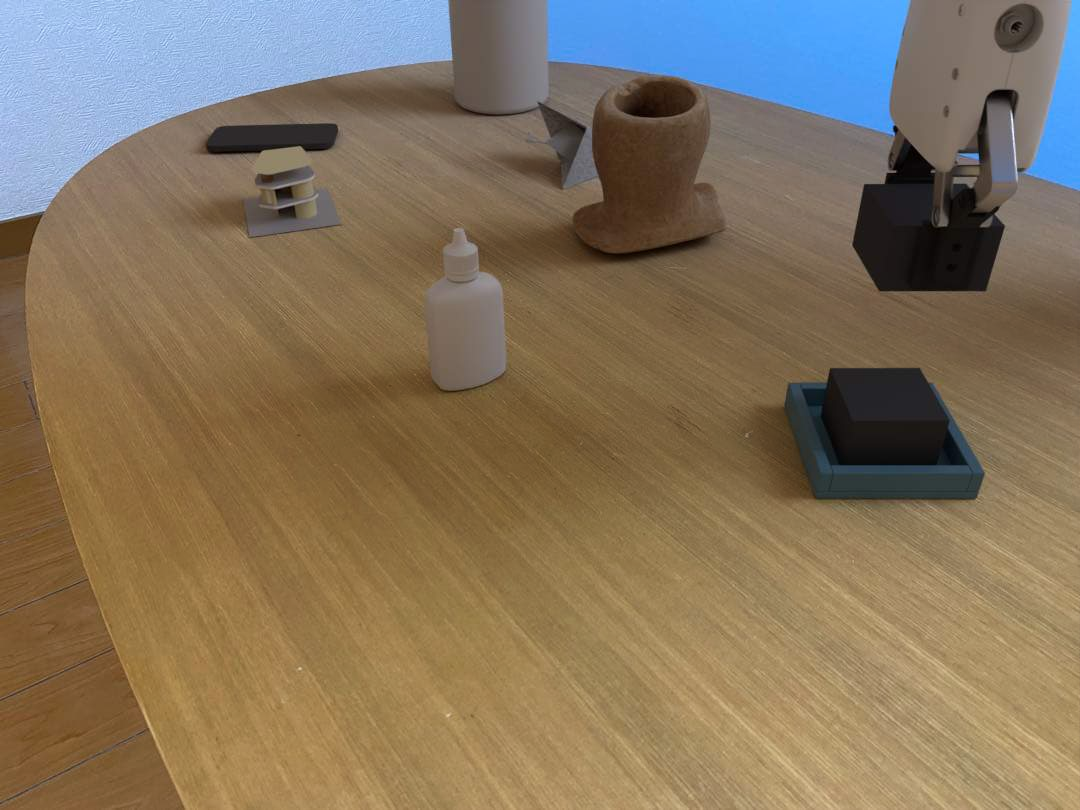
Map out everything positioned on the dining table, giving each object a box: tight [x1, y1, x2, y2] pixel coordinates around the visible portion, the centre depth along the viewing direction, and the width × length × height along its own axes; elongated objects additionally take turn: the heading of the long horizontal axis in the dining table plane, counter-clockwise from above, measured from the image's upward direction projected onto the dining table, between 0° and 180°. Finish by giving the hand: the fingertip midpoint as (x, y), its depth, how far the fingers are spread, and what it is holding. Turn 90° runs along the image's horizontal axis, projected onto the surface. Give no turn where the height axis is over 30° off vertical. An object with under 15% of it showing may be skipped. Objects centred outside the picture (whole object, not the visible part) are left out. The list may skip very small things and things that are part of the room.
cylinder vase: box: [447, 0, 549, 115], centre depth 119 cm, size 12×12×25 cm
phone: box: [205, 122, 339, 153], centre depth 114 cm, size 7×1×15 cm
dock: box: [783, 381, 986, 500], centre depth 62 cm, size 10×10×2 cm
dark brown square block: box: [821, 367, 950, 465], centre depth 62 cm, size 6×6×4 cm
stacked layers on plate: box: [242, 146, 342, 238], centre depth 95 cm, size 10×9×6 cm
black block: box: [851, 183, 1006, 292], centre depth 54 cm, size 6×6×4 cm
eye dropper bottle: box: [423, 227, 507, 392], centre depth 68 cm, size 4×6×12 cm
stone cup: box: [571, 74, 727, 254], centre depth 86 cm, size 15×12×15 cm
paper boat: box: [525, 101, 599, 191], centre depth 103 cm, size 12×6×9 cm
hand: (918, 258), depth 55 cm, fingers closed on black block, 6 cm apart
